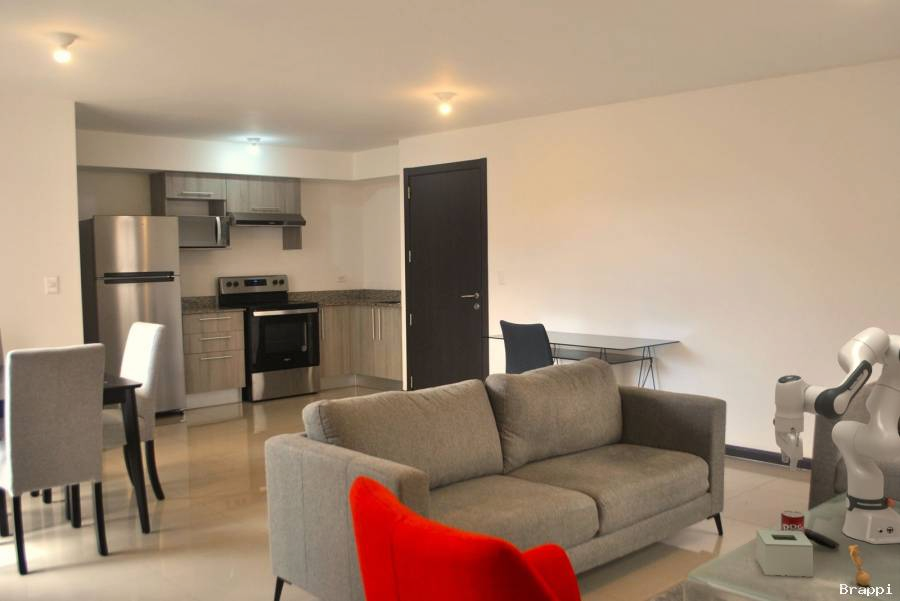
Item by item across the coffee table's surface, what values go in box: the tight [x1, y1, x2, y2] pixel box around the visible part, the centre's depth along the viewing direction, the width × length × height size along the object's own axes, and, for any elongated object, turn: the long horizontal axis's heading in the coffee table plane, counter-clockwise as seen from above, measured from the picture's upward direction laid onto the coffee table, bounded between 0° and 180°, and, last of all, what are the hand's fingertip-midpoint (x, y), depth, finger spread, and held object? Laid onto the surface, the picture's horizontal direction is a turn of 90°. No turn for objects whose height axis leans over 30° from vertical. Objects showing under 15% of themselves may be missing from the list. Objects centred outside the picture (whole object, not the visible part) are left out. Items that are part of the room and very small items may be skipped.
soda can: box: [780, 509, 805, 534], centre depth 266 cm, size 7×7×12 cm
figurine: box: [847, 544, 871, 587], centre depth 238 cm, size 8×6×12 cm
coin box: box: [756, 529, 814, 578], centre depth 251 cm, size 14×12×10 cm
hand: (789, 466), depth 262 cm, fingers open, 8 cm apart
